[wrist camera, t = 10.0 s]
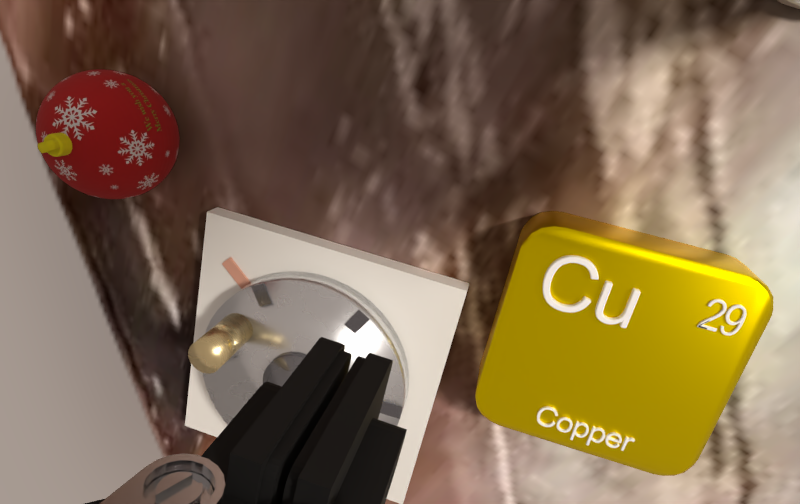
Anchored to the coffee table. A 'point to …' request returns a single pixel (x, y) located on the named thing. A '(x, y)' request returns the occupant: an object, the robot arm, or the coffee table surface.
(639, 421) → the element tile
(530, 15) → the coffee table surface
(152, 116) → the christmas ornament
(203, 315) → the base plate
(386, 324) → the rotary dial
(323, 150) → the coffee table surface
